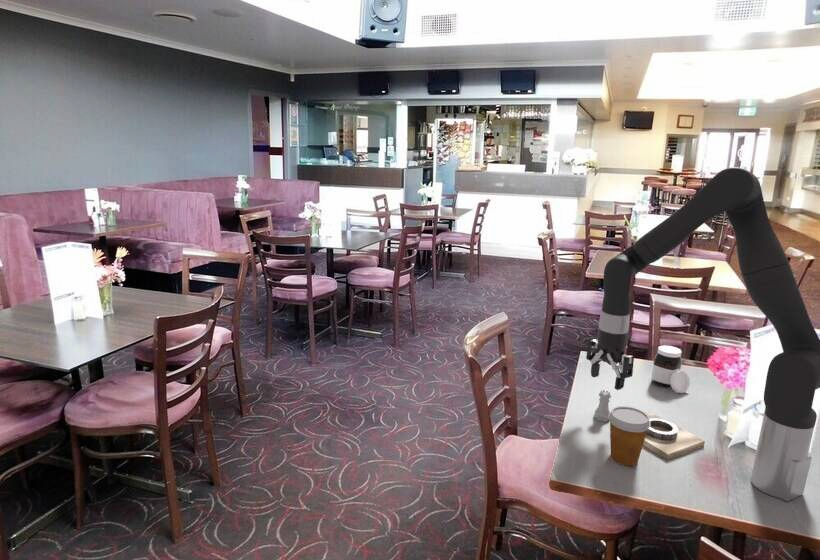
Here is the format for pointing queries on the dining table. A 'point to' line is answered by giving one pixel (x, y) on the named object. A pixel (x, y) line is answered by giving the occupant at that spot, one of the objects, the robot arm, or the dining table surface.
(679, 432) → the birch base plate
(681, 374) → the spread jar
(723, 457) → the dining table surface
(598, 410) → the rook chess piece
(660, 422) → the steel socket collar
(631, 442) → the disposable coffee cup
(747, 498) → the dining table surface
